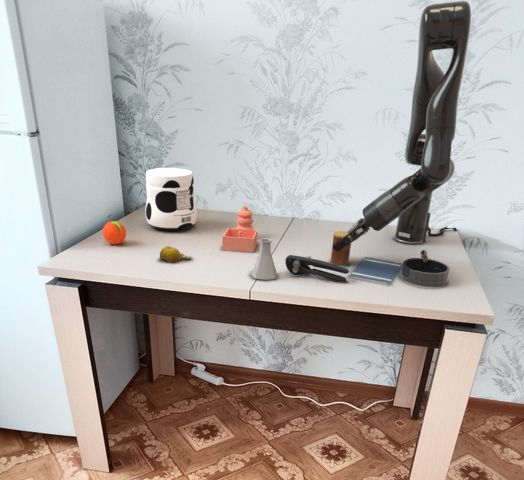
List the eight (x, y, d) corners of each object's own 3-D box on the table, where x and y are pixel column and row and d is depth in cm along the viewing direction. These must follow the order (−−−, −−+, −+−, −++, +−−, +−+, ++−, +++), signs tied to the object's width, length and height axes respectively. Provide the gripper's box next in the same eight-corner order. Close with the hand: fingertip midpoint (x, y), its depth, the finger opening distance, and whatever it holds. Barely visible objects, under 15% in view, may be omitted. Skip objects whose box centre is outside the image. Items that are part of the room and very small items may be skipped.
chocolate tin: (342, 259, 150) (346, 230, 146) (352, 266, 146) (356, 235, 142) (326, 261, 148) (329, 231, 144) (336, 267, 144) (339, 237, 140)
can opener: (280, 276, 137) (281, 256, 134) (288, 268, 143) (289, 248, 140) (344, 287, 132) (347, 267, 129) (350, 278, 137) (352, 258, 135)
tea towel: (366, 258, 153) (366, 256, 152) (402, 264, 149) (402, 263, 148) (349, 277, 138) (349, 275, 138) (389, 284, 134) (389, 283, 134)
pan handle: (427, 266, 142) (428, 260, 141) (421, 265, 142) (422, 259, 141) (426, 255, 150) (427, 249, 149) (419, 254, 150) (421, 248, 149)
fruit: (193, 259, 146) (193, 246, 144) (171, 265, 140) (170, 253, 138) (175, 252, 150) (174, 240, 149) (153, 258, 145) (152, 246, 143)
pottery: (253, 252, 153) (254, 220, 148) (222, 249, 154) (222, 217, 149) (260, 235, 169) (261, 205, 164) (232, 233, 169) (232, 203, 165)
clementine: (133, 245, 154) (131, 222, 151) (113, 249, 150) (110, 226, 146) (119, 238, 159) (117, 216, 156) (99, 243, 155) (96, 220, 151)
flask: (250, 270, 139) (251, 235, 134) (276, 270, 140) (277, 235, 135) (251, 280, 133) (252, 243, 128) (278, 280, 134) (281, 244, 129)
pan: (426, 269, 146) (429, 256, 144) (456, 285, 136) (459, 271, 134) (391, 274, 142) (393, 260, 140) (419, 290, 132) (422, 276, 130)
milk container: (155, 218, 182) (152, 165, 173) (202, 221, 180) (201, 169, 171) (139, 231, 167) (134, 175, 158) (189, 235, 165) (188, 178, 156)
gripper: (380, 193, 141) (336, 228, 150) (370, 204, 129) (323, 241, 139) (396, 214, 142) (351, 247, 151) (388, 227, 131) (340, 262, 140)
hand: (338, 244), depth 145 cm, fingers open, 8 cm apart
